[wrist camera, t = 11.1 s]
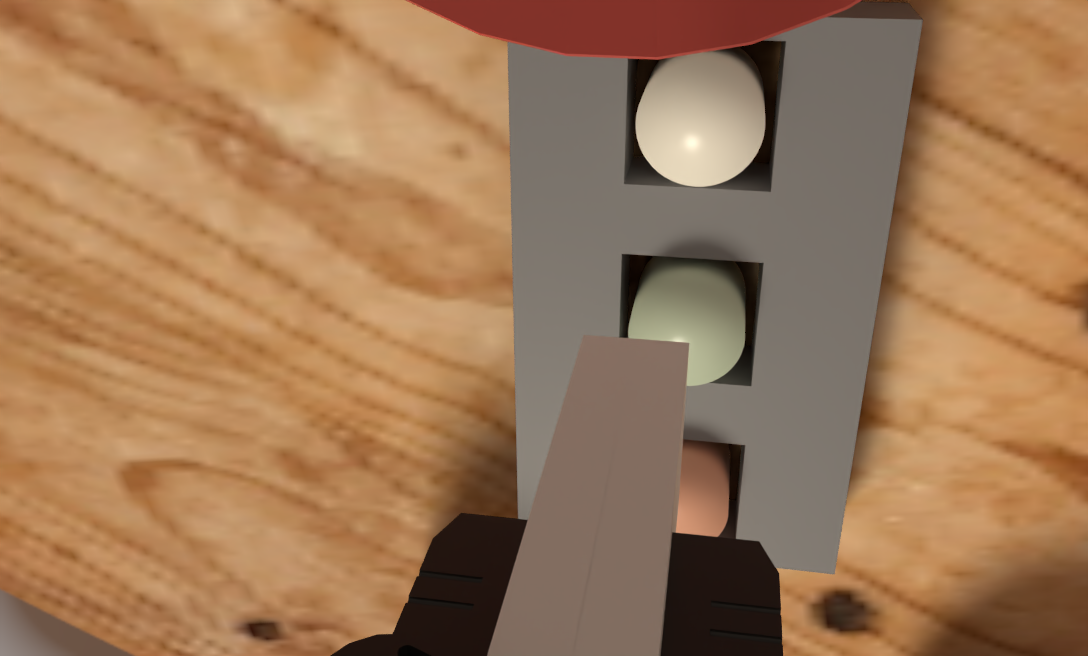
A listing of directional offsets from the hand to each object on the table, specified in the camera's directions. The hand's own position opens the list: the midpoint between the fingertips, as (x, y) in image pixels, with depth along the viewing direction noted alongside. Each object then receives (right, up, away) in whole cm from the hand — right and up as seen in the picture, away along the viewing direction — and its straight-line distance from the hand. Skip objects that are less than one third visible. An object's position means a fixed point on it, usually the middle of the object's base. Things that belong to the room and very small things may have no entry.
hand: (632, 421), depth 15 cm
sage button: (+4, +3, +21) cm, 22 cm away
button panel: (+4, +3, +22) cm, 22 cm away
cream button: (+4, +9, +18) cm, 21 cm away
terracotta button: (+4, -4, +24) cm, 25 cm away
